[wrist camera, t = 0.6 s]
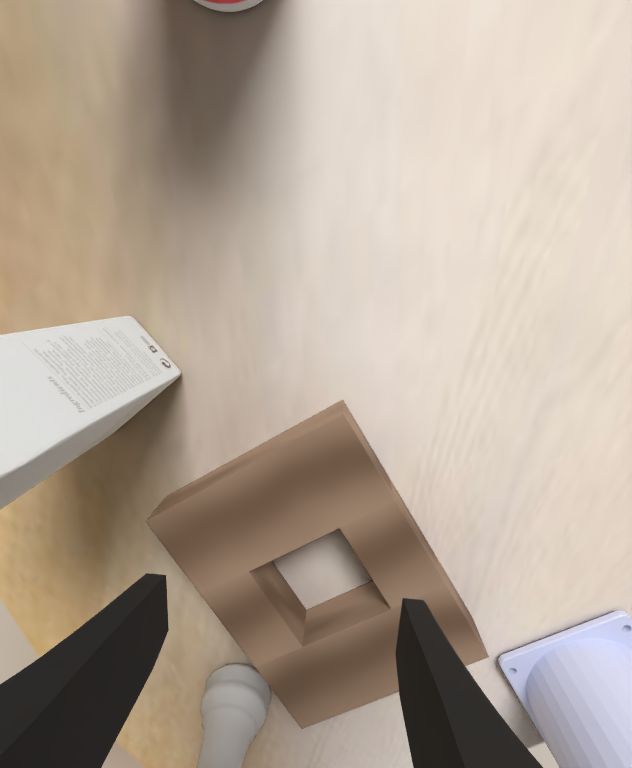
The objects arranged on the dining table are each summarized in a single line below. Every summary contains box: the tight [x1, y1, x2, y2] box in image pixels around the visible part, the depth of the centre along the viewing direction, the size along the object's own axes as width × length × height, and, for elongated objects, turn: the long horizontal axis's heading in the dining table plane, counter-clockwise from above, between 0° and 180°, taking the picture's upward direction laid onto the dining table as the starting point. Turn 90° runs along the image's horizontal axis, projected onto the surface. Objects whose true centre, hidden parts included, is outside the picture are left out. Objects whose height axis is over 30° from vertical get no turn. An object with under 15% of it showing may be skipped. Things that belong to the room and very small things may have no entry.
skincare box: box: [0, 316, 181, 509], centre depth 15 cm, size 6×4×12 cm
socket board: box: [145, 400, 489, 729], centre depth 21 cm, size 16×12×2 cm
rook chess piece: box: [197, 663, 271, 768], centre depth 21 cm, size 4×4×8 cm
